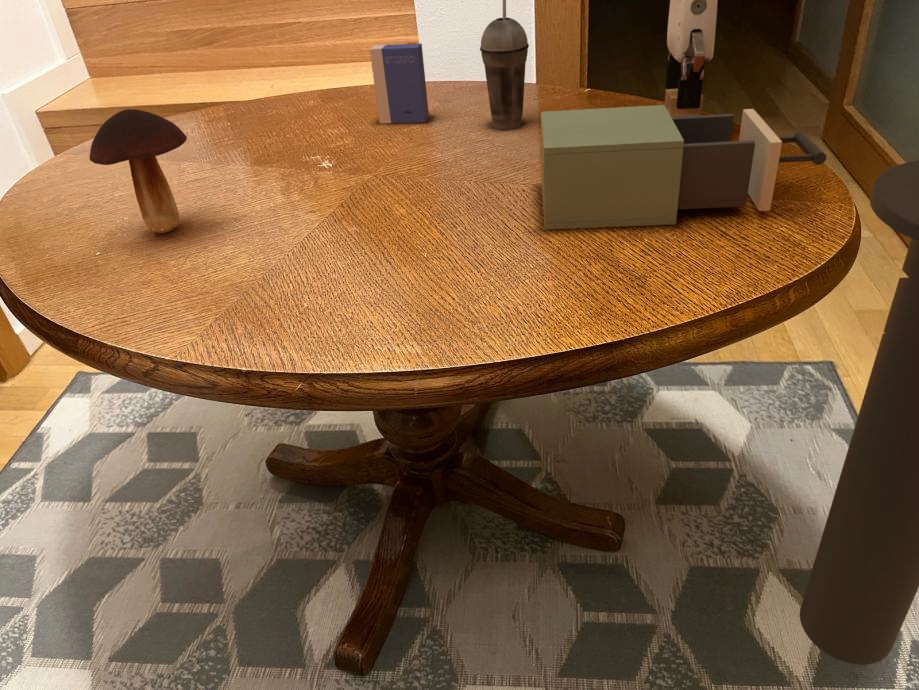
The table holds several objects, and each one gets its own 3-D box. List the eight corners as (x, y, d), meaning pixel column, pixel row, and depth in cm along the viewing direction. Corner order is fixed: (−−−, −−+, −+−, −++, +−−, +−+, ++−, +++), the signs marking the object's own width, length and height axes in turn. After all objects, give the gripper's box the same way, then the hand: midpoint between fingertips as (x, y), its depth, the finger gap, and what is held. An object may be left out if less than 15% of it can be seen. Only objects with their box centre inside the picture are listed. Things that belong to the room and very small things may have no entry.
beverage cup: (478, 131, 113) (469, -11, 102) (491, 116, 119) (484, -20, 108) (524, 132, 111) (520, -12, 100) (535, 117, 117) (532, -21, 105)
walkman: (429, 117, 121) (421, 40, 114) (425, 122, 119) (417, 45, 112) (383, 118, 123) (373, 42, 116) (379, 123, 120) (368, 46, 114)
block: (663, 119, 111) (665, 89, 109) (693, 117, 111) (696, 87, 108) (668, 129, 107) (671, 98, 105) (699, 127, 107) (703, 96, 104)
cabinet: (658, 181, 92) (664, 104, 87) (676, 224, 82) (684, 140, 76) (541, 186, 93) (540, 111, 88) (544, 230, 83) (543, 147, 78)
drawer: (792, 170, 89) (804, 105, 85) (824, 208, 80) (839, 138, 76) (632, 177, 91) (636, 115, 87) (645, 216, 82) (650, 148, 78)
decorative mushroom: (106, 253, 87) (57, 128, 79) (141, 214, 96) (101, 99, 88) (195, 248, 86) (156, 121, 78) (222, 209, 95) (190, 92, 87)
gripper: (740, -23, 90) (721, 115, 100) (710, -44, 104) (696, 79, 114) (677, -19, 91) (665, 118, 101) (656, -40, 105) (647, 82, 115)
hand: (681, 97), depth 107 cm, fingers open, 9 cm apart
